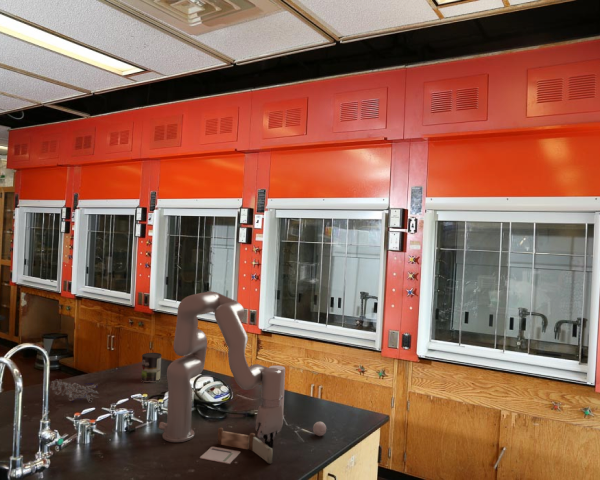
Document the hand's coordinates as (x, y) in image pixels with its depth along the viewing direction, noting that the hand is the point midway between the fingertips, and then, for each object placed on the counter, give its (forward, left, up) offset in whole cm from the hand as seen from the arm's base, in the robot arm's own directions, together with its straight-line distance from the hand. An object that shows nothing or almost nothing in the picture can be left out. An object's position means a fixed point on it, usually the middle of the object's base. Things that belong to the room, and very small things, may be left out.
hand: (268, 449), depth 184 cm
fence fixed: (-14, +2, -2) cm, 15 cm away
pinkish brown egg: (+14, +26, -2) cm, 30 cm away
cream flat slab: (-2, -2, -2) cm, 3 cm away
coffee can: (-91, +60, -2) cm, 109 cm away
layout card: (-17, -7, -2) cm, 18 cm away
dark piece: (-105, +19, -3) cm, 106 cm away
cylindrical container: (-8, +29, -2) cm, 30 cm away
